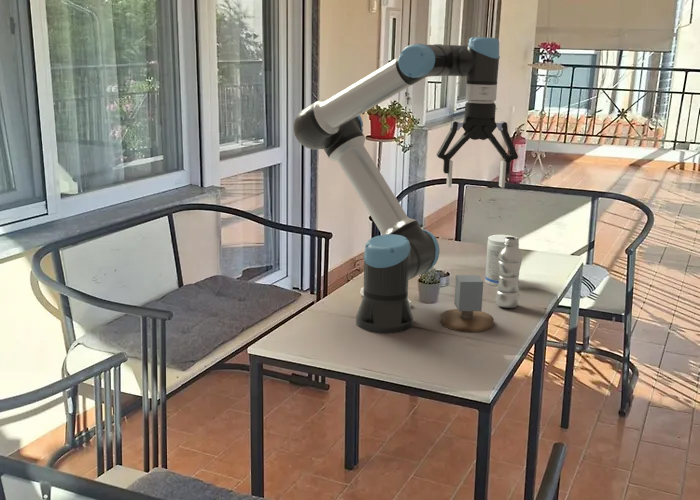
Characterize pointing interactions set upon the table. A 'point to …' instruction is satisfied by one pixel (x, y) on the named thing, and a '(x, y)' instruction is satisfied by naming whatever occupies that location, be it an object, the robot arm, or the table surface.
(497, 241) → the supplement tub
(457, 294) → the light grey rectangular block
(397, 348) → the table surface
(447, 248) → the table surface
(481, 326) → the peg stand
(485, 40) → the robot arm
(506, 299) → the plastic bottle
